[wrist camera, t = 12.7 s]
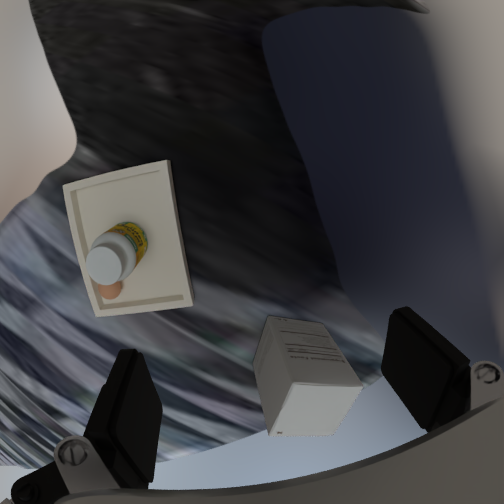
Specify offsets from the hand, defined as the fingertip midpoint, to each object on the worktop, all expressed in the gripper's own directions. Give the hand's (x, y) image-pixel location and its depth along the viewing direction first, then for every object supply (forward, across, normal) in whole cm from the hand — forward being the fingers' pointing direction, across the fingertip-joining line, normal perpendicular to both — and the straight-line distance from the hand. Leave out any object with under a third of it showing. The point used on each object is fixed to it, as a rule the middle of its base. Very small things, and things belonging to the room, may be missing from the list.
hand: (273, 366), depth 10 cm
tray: (+28, +14, +1) cm, 31 cm away
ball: (+27, +17, +6) cm, 32 cm away
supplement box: (+28, -6, +19) cm, 34 cm away
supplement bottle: (+27, +13, +1) cm, 30 cm away
